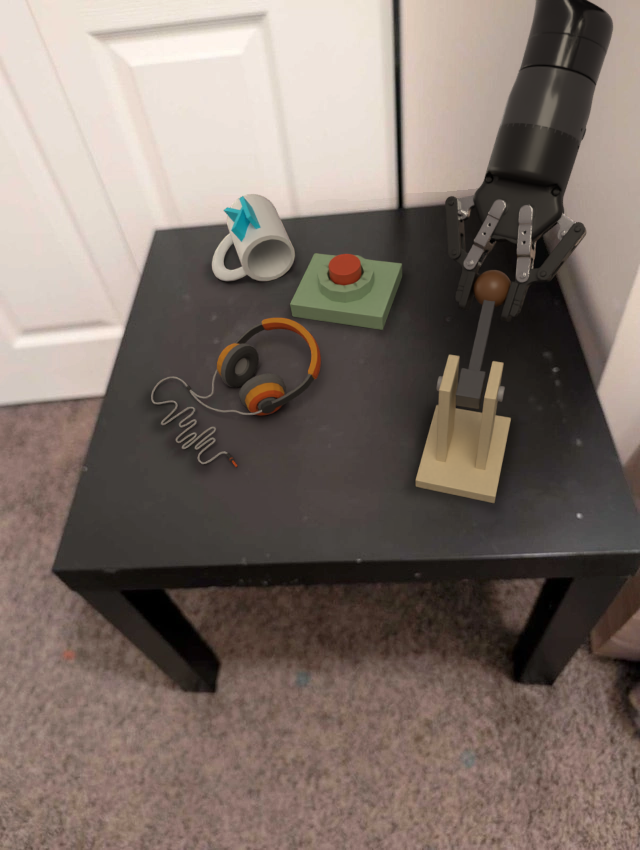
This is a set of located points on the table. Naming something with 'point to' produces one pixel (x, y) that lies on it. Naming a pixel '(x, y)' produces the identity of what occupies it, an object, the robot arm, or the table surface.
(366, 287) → the control block
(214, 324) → the table surface
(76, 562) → the table surface
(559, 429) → the table surface
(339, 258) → the button
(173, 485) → the table surface
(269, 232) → the mug
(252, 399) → the headphones
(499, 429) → the switch bracket
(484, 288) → the lever
